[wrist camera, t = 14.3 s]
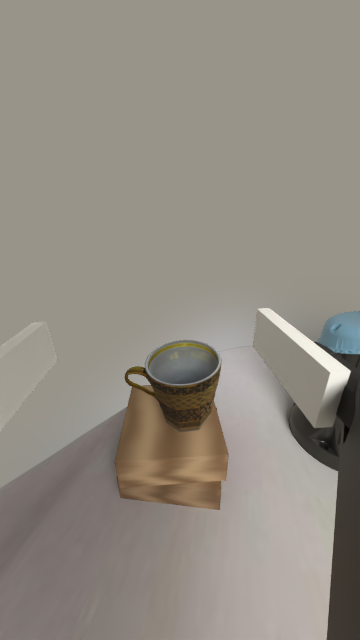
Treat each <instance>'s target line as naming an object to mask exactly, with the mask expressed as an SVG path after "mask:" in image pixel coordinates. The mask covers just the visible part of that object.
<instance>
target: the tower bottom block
mask: <svg viewBox="0 0 360 640" xmlns="http://www.w3.org/2000/svg"><path fill="white" fill-rule="evenodd" d="M216 410H217V408H216ZM117 481H118V476H117ZM118 486H119V481H118ZM119 491H120V496H121V498H126V499H134V500H142V501H150V502H159V503H167V504H175V505H183V506H191V507H200V508H208V509H216V510H220V498H221V481H213V482H198V483H184V484H169V485H155V486H140V487H125V488H120V486H119Z"/></svg>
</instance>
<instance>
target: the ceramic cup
mask: <svg viewBox="0 0 360 640" xmlns="http://www.w3.org/2000/svg"><path fill="white" fill-rule="evenodd" d="M220 370H221V357H220V354H219V353H218V351H216V349H215V348H213V347H212V346H210V345H208V344H206V343H203V342H199V341H194V340H179V341H173V342H169V343H166V344H164V345H162V346H160V347H158V348H156V349H155V350H154V351H152V352H151V353H150V355H149V356H148V357H147V359H146V362H145V368H143V367H132V368H130V369H129V370H128V371H127V372H126V374H125V380H126V382H127V383H128V384H129V385H130V386H132V387H134V388H137V389H139V390H142V391H144V392H145V393H147V394H148V395H151V396H153V397H154V398H155V399H156V400H157V401H158V402H159V404H160V407H161V409H162V411H163V414H164V417H165V419H166V422H167V423H168V424H170V425H171V426H172V427H174V428H175V429H177V430H178V431H179V432H187V431H195V430H200V428H201V427H202V426H203V425H204V424H205V422H206V421H207V420H208V419H209V418H210V415H211V410H212V406H213V401H214V397H215V391H216V388H217V385H218V381H219V376H220ZM129 374H140V375H143V376H145V377H146V378H147V379H148V381H149V382H150V384H151V386H152V388H153V390H154V392H152V391H149V390H148V389H146V388H145V387H143V386H140V385H138V384H135V383H133V382H131V381H130V380H129V379H128V375H129Z"/></svg>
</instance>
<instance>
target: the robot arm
mask: <svg viewBox="0 0 360 640" xmlns="http://www.w3.org/2000/svg"><path fill="white" fill-rule="evenodd" d="M253 347H254V348H255V350H256V351H257V352H258V354H259V355H260V356H261V358H262V359H263V360H264V362H265V363H266V364H267V366H268V367H269V368H270V370H271V371H272V372H273V374H274V375H275V376H276V378H277V379H278V380H279V382H280V383H281V384H282V386H283V387H284V388H285V390H286V391H287V392H288V394H289V395H290V396H291V398H292V399H293V400H294V402H295V403H294V405H293V407H292V409H291V413H290V418H289V424H290V428H291V431H292V433H293V435H294V437H295V438H296V440H297V441H298V442H299V444H300V445H301V446H302V447H303V448H304V449H305V450H306V451H307V452H308V453H309V454H311V455H312V456H313V457H314V458H316V459H317V460H319V461H320V462H322V463H323V464H325V465H327V466H329V467H331V468H333V469H335V470H337V471H338V486H337V500H336V515H335V529H334V544H333V558H332V573H331V587H330V602H329V616H328V631H327V640H360V311H354V312H345V313H341V314H337V315H335V316H333V317H331V318H329V319H328V320H327V321H326V323H325V325H324V327H323V330H322V333H321V336H320V338H319V339H318V341H317V342H312V341H311V340H310V339H308V338H307V337H306V336H305V335H303V334H302V333H300V332H299V331H298V330H297V329H295V328H294V327H293V326H292V325H290V324H289V323H288V322H286V321H285V320H284V319H282V318H281V317H280V316H278V315H277V314H276V313H275V312H273V311H272V310H271V309H269V308H262V309H257V315H256V324H255V333H254V342H253ZM57 360H58V359H57V356H56V353H55V350H54V346H53V343H52V340H51V337H50V333H49V330H48V327H47V324H46V322H34V323H32V324H30V325H29V326H28V327H26V328H25V329H23V330H22V331H21V332H19V333H18V334H17V335H15V336H14V337H12V338H11V339H10V340H8V341H7V342H5V343H4V344H3V345H1V346H0V431H1V430H2V429H3V427H4V426H5V425H6V424H7V423H8V421H9V420H10V419H11V417H12V416H13V415H14V414H15V413H16V411H17V410H18V409H19V408H20V407H21V405H22V404H23V403H24V401H25V400H26V399H27V398H28V396H29V395H30V394H31V393H32V392H33V390H34V389H35V388H36V386H37V385H38V384H39V383H40V381H41V380H42V379H43V378H44V377H45V375H46V374H47V373H48V372H49V370H50V369H51V368H52V367H53V365H54V364H55V363H56V362H57Z"/></svg>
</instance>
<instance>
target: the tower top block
mask: <svg viewBox="0 0 360 640" xmlns="http://www.w3.org/2000/svg"><path fill="white" fill-rule="evenodd" d="M143 387H145V388H146V389H148V390H149V391H152V392H154V390H153V388H152V386H151V385H147V386H143ZM115 465H116V471H117V476H118V481H119V486H120V488H125V487H140V486H155V485H169V484H184V483H198V482H213V481H226V476H227V466H228V451H227V447H226V444H225V440H224V436H223V432H222V429H221V425H220V421H219V418H218V414H217V410H216V407H215V403H214V401H213V406H212V410H211V415H210V418H209V419H208V420H207V421H206V422H205V424H204V425H203V426H202V427H201V428H200V430H195V431H187V432H179V431H178V430H177V429H175V428H174V427H172V426H171V425H170V424H168V423H167V422H166V419H165V417H164V414H163V411H162V409H161V407H160V404H159V402H158V401H157V400H156V399H155V398H154V397H153V396H151V395H148V394H147V393H145V392H144V391H142V390H139V389H137V388H134V387H132V390H131V395H130V398H129V403H128V407H127V411H126V416H125V420H124V424H123V429H122V433H121V437H120V441H119V446H118V450H117V454H116V459H115Z"/></svg>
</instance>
